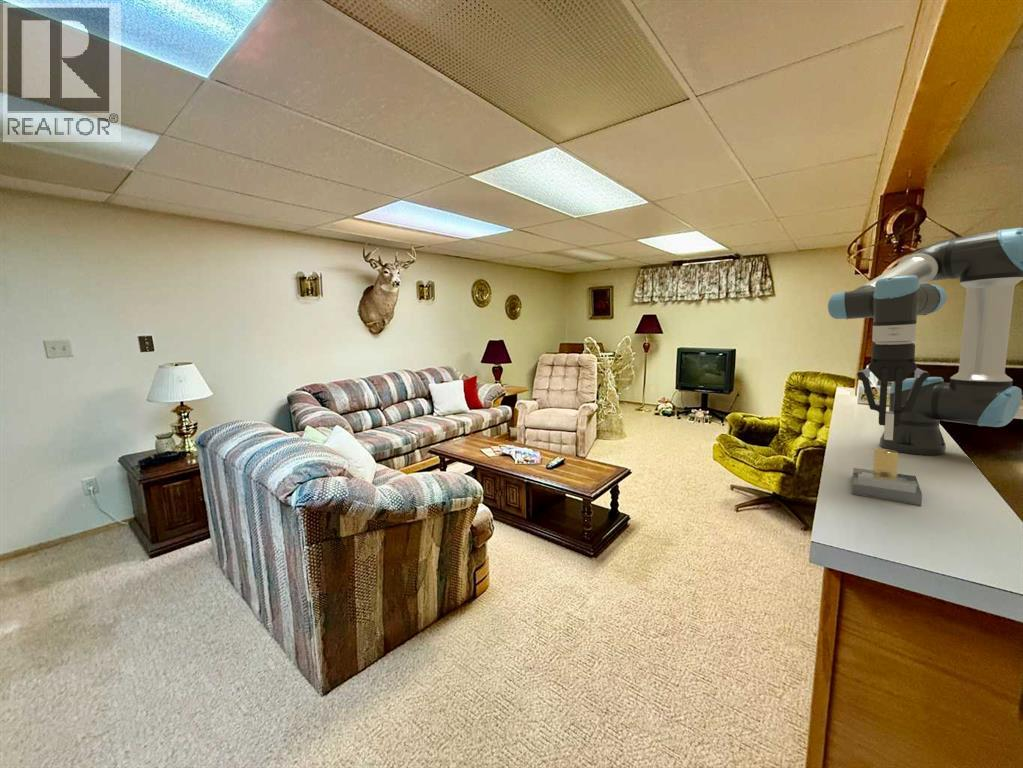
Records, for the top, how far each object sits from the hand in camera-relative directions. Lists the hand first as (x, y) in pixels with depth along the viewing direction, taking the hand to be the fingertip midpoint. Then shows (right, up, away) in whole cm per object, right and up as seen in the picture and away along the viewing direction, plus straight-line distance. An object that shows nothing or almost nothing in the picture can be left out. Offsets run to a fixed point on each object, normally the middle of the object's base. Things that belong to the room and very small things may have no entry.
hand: (888, 438), depth 99 cm
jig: (0, -13, +1) cm, 13 cm away
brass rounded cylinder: (0, -13, +1) cm, 13 cm away
